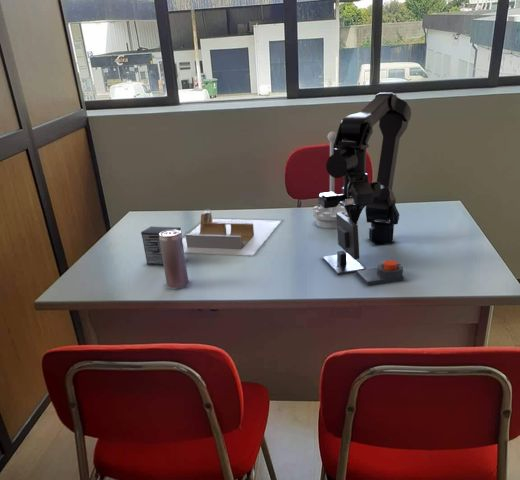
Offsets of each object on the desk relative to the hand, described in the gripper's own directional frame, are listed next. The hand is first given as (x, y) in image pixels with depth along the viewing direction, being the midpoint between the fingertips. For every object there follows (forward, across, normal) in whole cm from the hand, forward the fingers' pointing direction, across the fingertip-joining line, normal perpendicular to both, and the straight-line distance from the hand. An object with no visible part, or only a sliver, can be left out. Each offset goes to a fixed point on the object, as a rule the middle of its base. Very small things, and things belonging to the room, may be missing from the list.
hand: (353, 227), depth 144 cm
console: (+11, +3, -12) cm, 16 cm away
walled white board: (+10, -30, +40) cm, 51 cm away
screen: (+7, -2, 0) cm, 7 cm away
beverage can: (+10, -50, +4) cm, 51 cm away
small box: (+10, -52, +22) cm, 58 cm away
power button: (+8, +5, -13) cm, 16 cm away
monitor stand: (+11, -2, 0) cm, 11 cm away
